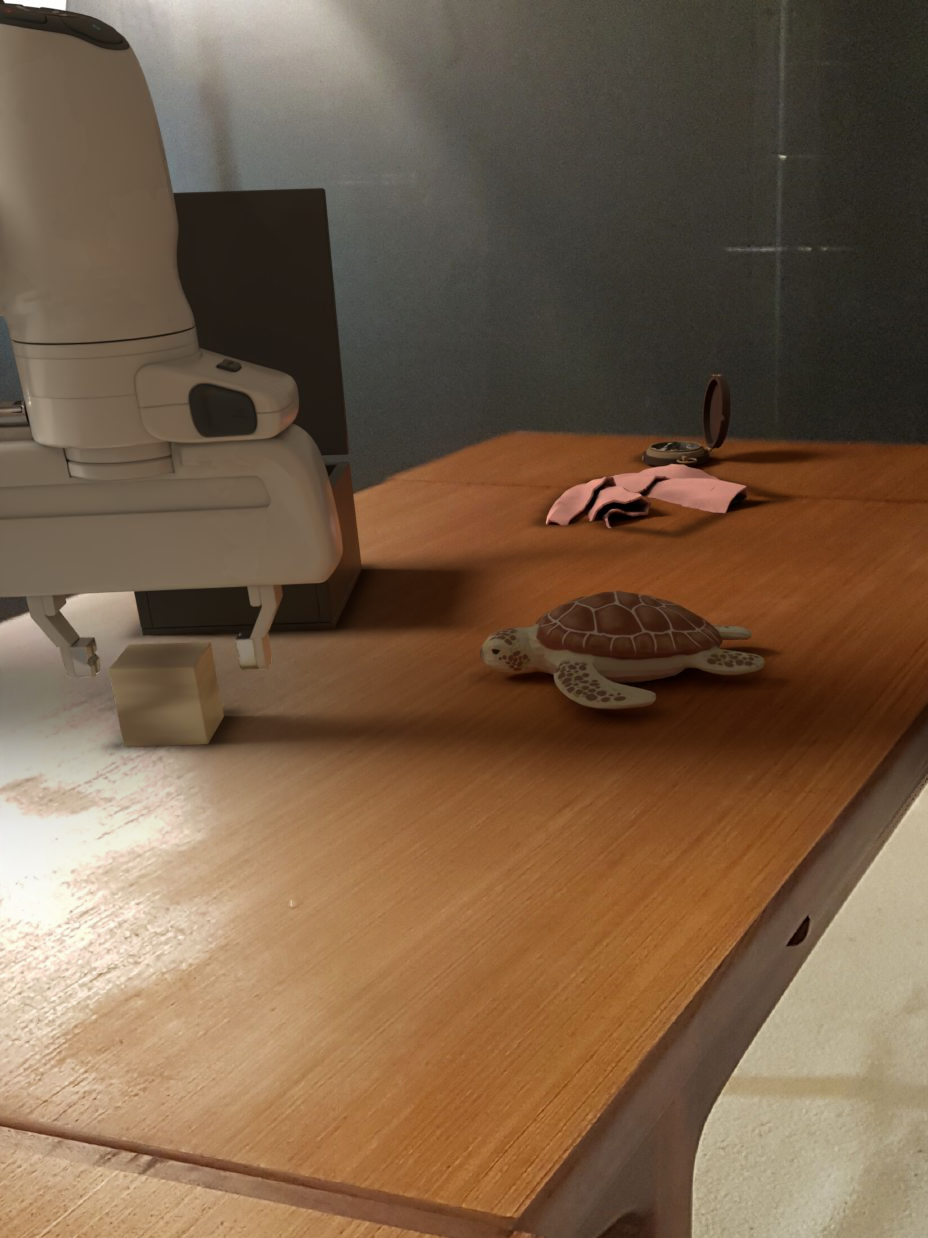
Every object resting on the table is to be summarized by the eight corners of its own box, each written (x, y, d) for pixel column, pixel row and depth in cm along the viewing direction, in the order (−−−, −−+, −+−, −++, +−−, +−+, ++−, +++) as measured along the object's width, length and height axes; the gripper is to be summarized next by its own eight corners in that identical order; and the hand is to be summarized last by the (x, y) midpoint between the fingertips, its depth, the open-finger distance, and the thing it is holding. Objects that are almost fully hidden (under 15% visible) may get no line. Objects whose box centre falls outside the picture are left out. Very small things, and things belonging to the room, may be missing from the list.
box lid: (323, 187, 109) (325, 189, 109) (135, 193, 109) (138, 195, 109) (348, 454, 115) (349, 454, 116) (170, 460, 115) (173, 460, 116)
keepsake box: (334, 634, 107) (318, 510, 103) (143, 640, 107) (119, 516, 103) (362, 573, 120) (349, 461, 116) (192, 579, 120) (172, 467, 116)
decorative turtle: (483, 640, 105) (476, 560, 102) (738, 628, 106) (739, 549, 103) (481, 735, 90) (473, 644, 87) (779, 720, 90) (781, 630, 88)
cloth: (697, 472, 147) (697, 443, 146) (822, 519, 131) (823, 487, 129) (487, 498, 140) (485, 468, 139) (590, 552, 123) (589, 519, 122)
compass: (634, 458, 153) (632, 374, 149) (715, 452, 154) (715, 368, 150) (655, 475, 146) (654, 387, 142) (740, 469, 148) (740, 381, 144)
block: (124, 752, 89) (107, 669, 86) (144, 724, 93) (128, 644, 90) (208, 750, 89) (194, 666, 86) (224, 722, 93) (211, 641, 90)
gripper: (-114, 416, 79) (-38, 697, 86) (308, 397, 79) (347, 680, 86) (-69, 395, 84) (-2, 662, 91) (326, 377, 84) (361, 645, 91)
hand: (170, 670), depth 89 cm, fingers open, 8 cm apart
